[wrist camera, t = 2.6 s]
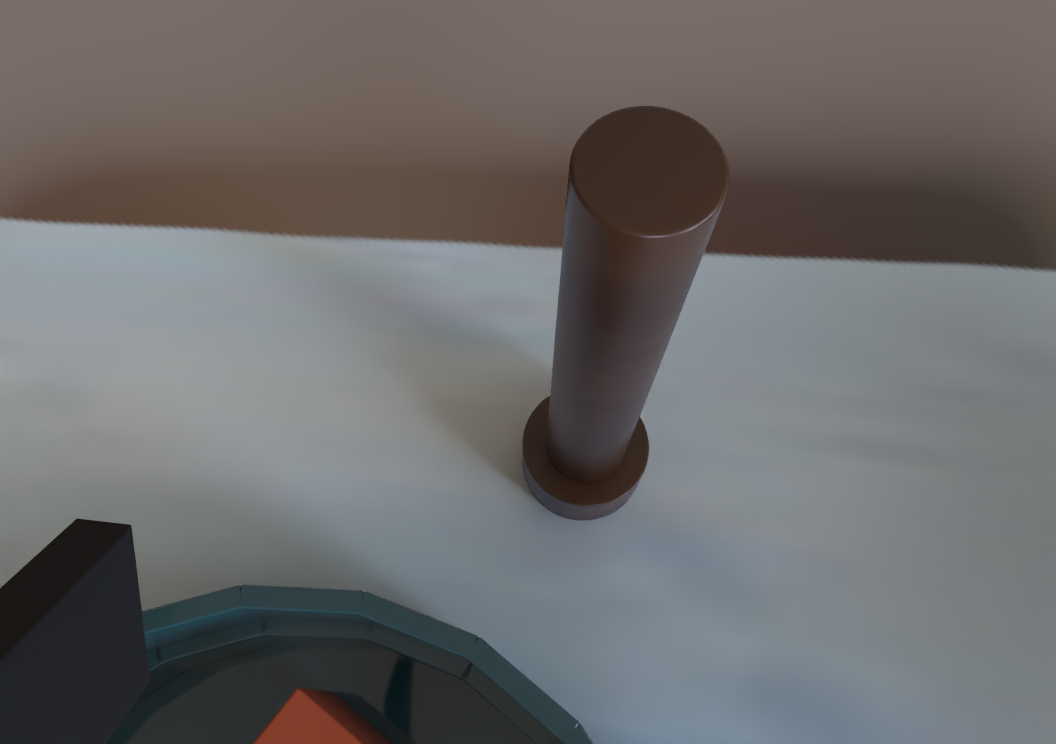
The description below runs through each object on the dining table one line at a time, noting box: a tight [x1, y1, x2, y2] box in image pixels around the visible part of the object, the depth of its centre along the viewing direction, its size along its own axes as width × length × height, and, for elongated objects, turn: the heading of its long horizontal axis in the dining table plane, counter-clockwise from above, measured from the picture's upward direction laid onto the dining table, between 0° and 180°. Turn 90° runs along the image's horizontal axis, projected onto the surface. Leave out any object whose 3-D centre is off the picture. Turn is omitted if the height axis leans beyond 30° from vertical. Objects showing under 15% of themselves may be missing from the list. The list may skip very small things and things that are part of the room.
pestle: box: [523, 106, 730, 520], centre depth 20 cm, size 4×4×16 cm
